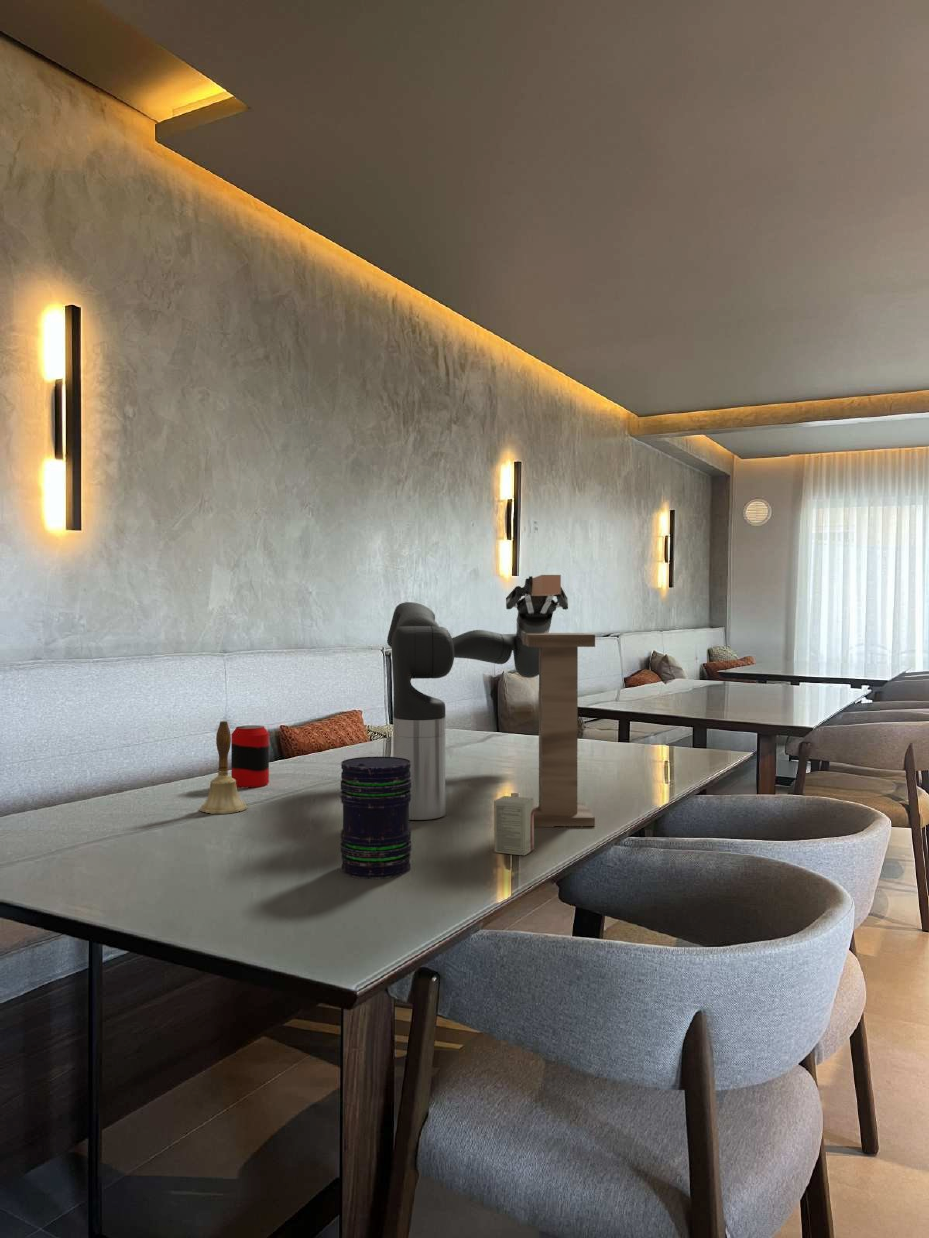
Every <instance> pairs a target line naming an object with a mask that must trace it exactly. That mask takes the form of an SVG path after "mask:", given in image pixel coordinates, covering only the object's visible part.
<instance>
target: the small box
mask: <svg viewBox="0 0 929 1238" xmlns="http://www.w3.org/2000/svg"><path fill="white" fill-rule="evenodd" d="M534 803H535V801H534V797H521V796H509V795H503V796H501V797H499V798H497V799H495V800H493V812H494V813H493V814H494V815H493V816H494V817H493V818H494V819H493V821H494V822H493V825H494V827H493V828H494V833H493V834H494V835H493V836H494V853H499V854H510V855H514V856H515V855H517V856H518V855H519V856H527V855H528V854H529V853H530V852H533V850H534V849H535V827H534Z"/></svg>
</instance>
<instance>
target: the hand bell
mask: <svg viewBox="0 0 929 1238" xmlns="http://www.w3.org/2000/svg"><path fill="white" fill-rule="evenodd" d="M231 734H232V733H231V730H230V728H229V723H228V721H225V720H222V721H220V722H219V726H218V728H217V731H216V738H215V739H216V744H215V745H216V748H217V754H218V774H217V776H216V777H214V778H213V779H211V781H210V784H209V792H208V796H207V798H206V800H205V802H204V804H202V805H201V807H200V808H199V811H203V812H206V813H205V814H207V813H210V814H209V815H224V814H232V813H239V811H240V812H243V811H246V810H247V809H246V808H248V806H247V805H246V803H245V802H243V800H242V798H241V797H240V795H239V792H238V788H237V786H236V780H235V779H234V778H231V776H230V775H229V767H228V766H229V761H228V759H229V752H230V749H231Z"/></svg>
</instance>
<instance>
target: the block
mask: <svg viewBox="0 0 929 1238" xmlns="http://www.w3.org/2000/svg"><path fill="white" fill-rule="evenodd" d="M561 580H562V576H561V574H541V575H538V576H535V577H533V578H532V582H533V585H532V592H531V594H530V595H531V596H549V595H556V594H561V587H562V585H561V584H562V581H561Z"/></svg>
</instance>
